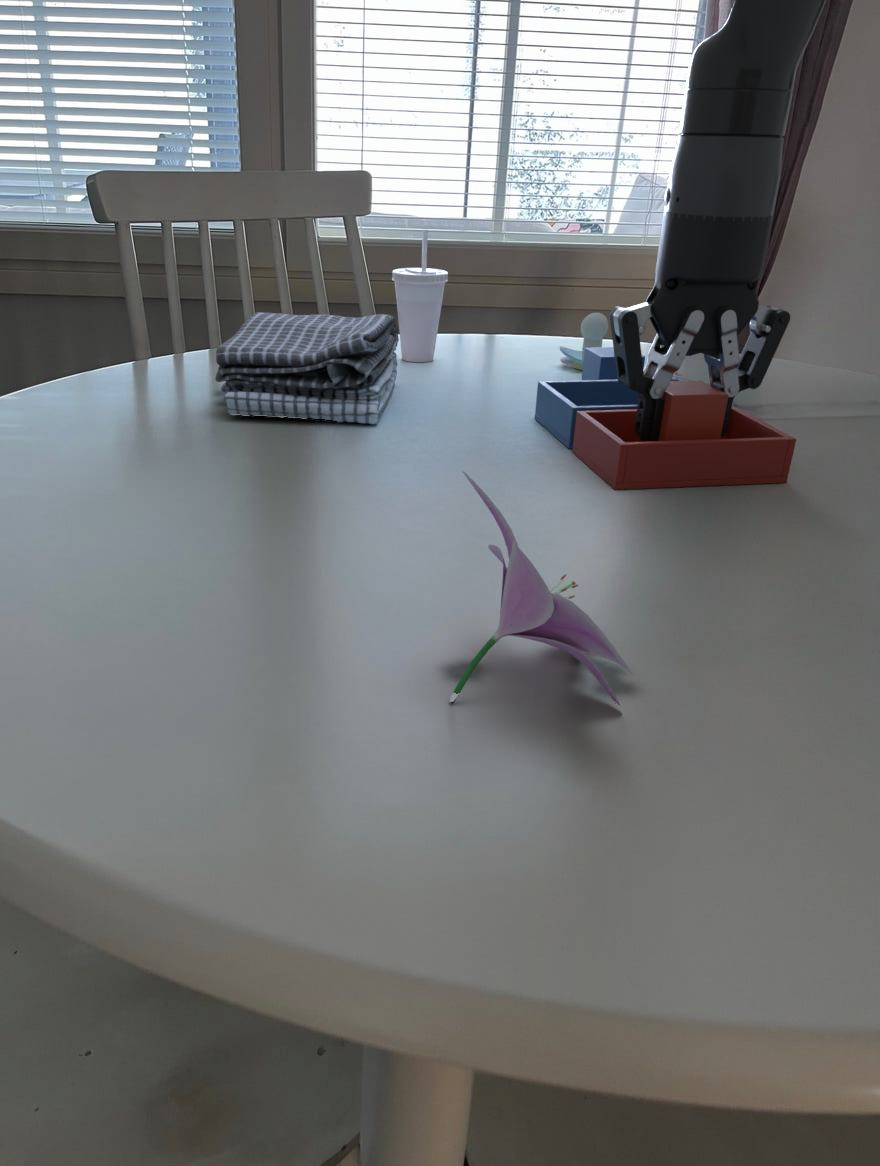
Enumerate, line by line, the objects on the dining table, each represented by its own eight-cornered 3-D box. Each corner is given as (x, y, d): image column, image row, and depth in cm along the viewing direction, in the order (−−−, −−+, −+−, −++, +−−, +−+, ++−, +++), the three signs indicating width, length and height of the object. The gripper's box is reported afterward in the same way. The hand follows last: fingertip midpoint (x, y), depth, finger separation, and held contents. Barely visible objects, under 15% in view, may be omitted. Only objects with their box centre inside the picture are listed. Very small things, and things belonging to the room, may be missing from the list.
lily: (601, 818, 38) (725, 612, 36) (345, 682, 38) (456, 470, 36) (576, 736, 50) (669, 577, 48) (381, 633, 50) (465, 470, 48)
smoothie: (419, 367, 106) (424, 233, 99) (379, 358, 110) (380, 228, 103) (455, 359, 110) (462, 230, 104) (415, 350, 114) (418, 225, 107)
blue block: (621, 391, 98) (627, 346, 96) (639, 403, 94) (645, 356, 92) (579, 392, 97) (584, 347, 95) (595, 404, 93) (601, 357, 91)
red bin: (727, 446, 81) (735, 406, 80) (786, 482, 73) (796, 438, 71) (571, 452, 79) (576, 410, 77) (614, 490, 71) (620, 444, 69)
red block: (691, 436, 77) (701, 380, 75) (717, 453, 73) (729, 394, 71) (639, 438, 77) (647, 381, 74) (663, 454, 73) (672, 395, 70)
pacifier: (553, 362, 111) (560, 371, 105) (559, 306, 108) (565, 313, 103) (615, 363, 111) (625, 373, 105) (622, 308, 108) (632, 315, 103)
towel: (401, 382, 100) (402, 305, 96) (376, 429, 84) (377, 338, 80) (261, 375, 101) (258, 299, 97) (211, 420, 85) (204, 330, 81)
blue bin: (675, 414, 90) (681, 378, 89) (722, 443, 82) (730, 403, 80) (534, 418, 88) (537, 381, 86) (568, 448, 80) (572, 407, 78)
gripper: (645, 210, 62) (611, 459, 70) (839, 213, 65) (785, 453, 73) (604, 203, 69) (577, 431, 77) (782, 205, 71) (738, 427, 79)
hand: (679, 441), depth 75 cm, fingers closed on red block, 4 cm apart
